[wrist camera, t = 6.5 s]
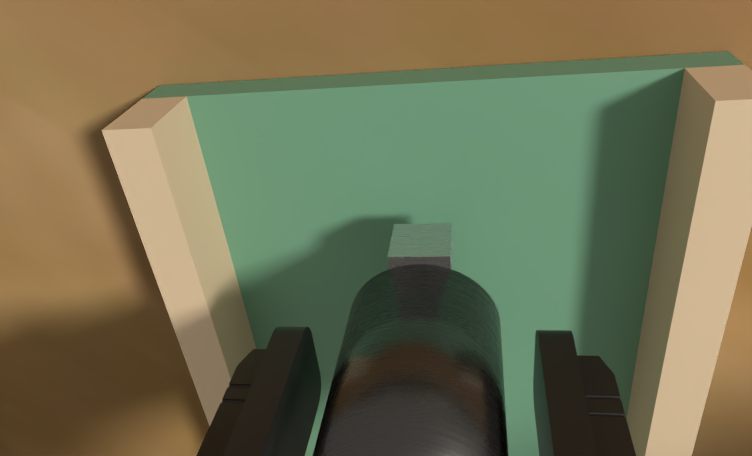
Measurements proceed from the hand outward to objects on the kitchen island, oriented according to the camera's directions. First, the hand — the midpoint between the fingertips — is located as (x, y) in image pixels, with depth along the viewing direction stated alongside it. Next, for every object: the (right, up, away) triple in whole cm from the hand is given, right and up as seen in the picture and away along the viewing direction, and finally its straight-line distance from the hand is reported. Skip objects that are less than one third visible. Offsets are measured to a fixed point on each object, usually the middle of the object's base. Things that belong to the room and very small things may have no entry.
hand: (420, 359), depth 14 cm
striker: (+1, -3, +5) cm, 6 cm away
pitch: (+1, -2, +7) cm, 7 cm away
